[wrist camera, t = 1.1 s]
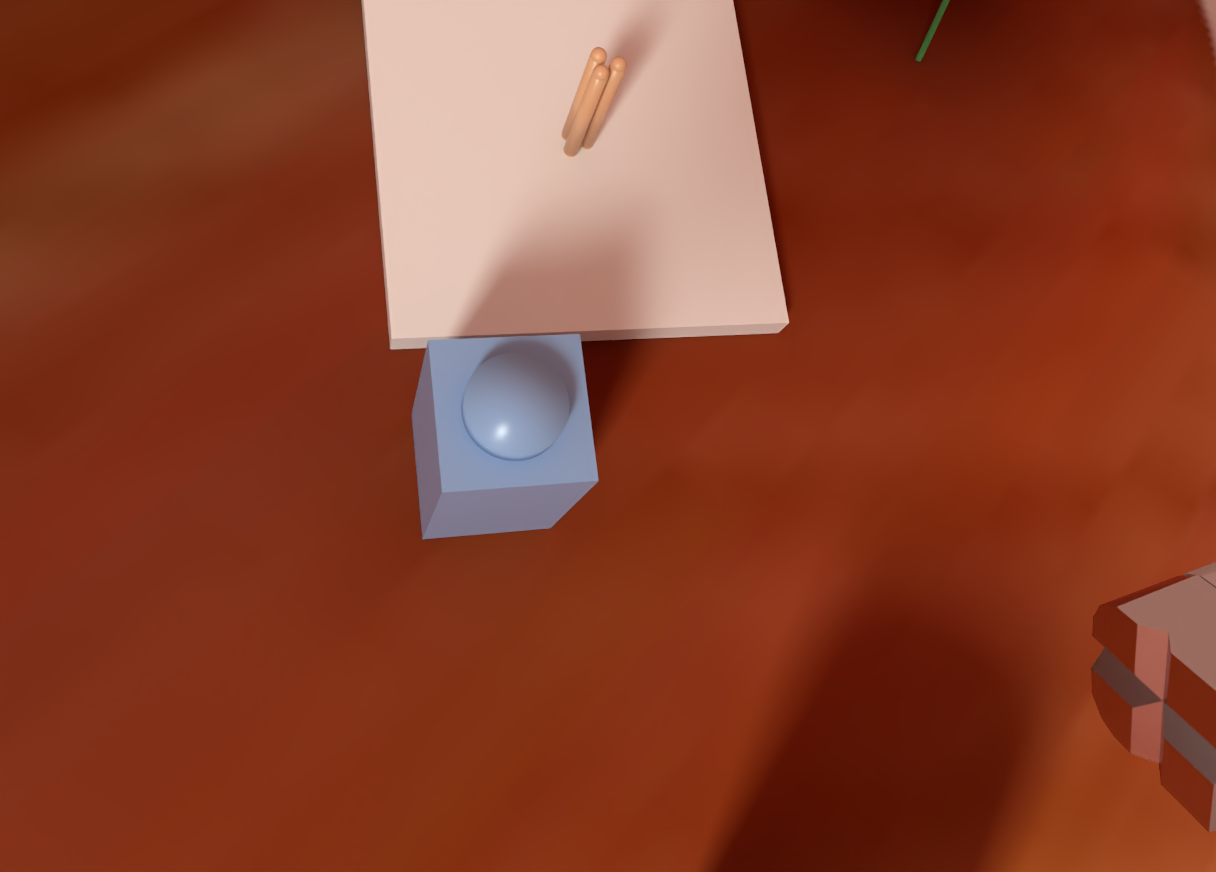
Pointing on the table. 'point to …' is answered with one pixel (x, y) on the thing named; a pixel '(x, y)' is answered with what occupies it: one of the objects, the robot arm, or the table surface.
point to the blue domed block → (501, 434)
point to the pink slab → (568, 171)
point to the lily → (932, 30)
